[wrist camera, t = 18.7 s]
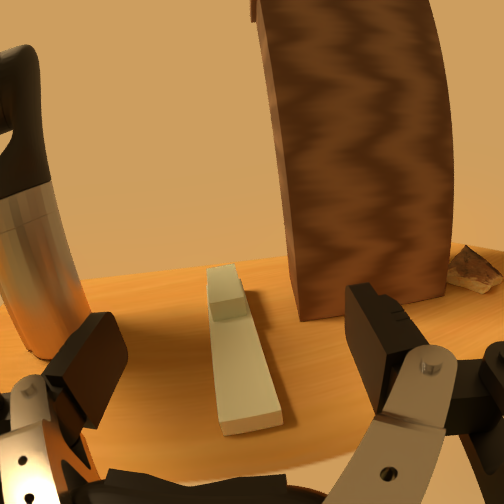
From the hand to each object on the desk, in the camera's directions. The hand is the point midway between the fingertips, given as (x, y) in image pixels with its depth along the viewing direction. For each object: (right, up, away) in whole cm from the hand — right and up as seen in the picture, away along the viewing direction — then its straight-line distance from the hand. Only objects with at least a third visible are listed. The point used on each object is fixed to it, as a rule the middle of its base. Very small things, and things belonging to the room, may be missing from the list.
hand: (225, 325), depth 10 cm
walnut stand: (+13, -1, +23) cm, 27 cm away
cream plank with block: (-1, -6, +17) cm, 19 cm away
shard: (+27, -1, +22) cm, 35 cm away
